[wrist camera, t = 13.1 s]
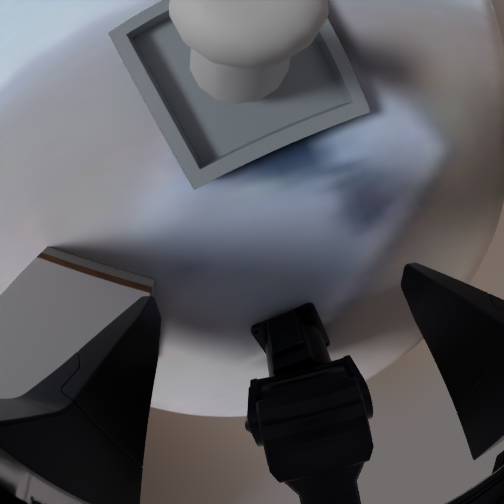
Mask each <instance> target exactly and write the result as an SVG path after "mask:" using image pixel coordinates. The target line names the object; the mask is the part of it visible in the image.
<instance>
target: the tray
mask: <svg viewBox="0 0 504 504" xmlns="http://www.w3.org/2000/svg"><path fill="white" fill-rule="evenodd" d="M169 2H170V0H162V1H160V2H159V3H157V4H155V5H153V6H151V7H149V8H148V9H146V10H144V11H142V12H141V13H139V14H137V15H135V16H134V17H132V18H130V19H129V20H127V21H126V22H124V23H123V24H121V25H119V26H118V27H116V28H115V29H113V30H112V31H110V32H109V33H108V34H109V36H110V37H111V39H112V41H113V43H114V45H115V47H116V49H117V51H118V53H119V55H120V57H121V58H122V60H123V62H124V64H125V66H126V68H127V70H128V72H129V73H130V75H131V77H132V79H133V81H134V83H135V85H136V87H137V88H138V90H139V92H140V94H141V96H142V98H143V99H144V101H145V103H146V105H147V107H148V109H149V110H150V112H151V114H152V116H153V118H154V120H155V121H156V123H157V125H158V127H159V129H160V130H161V132H162V134H163V136H164V138H165V139H166V141H167V143H168V145H169V147H170V148H171V150H172V152H173V154H174V156H175V157H176V159H177V161H178V163H179V164H180V166H181V168H182V170H183V172H184V173H185V175H186V177H187V179H188V180H189V182H190V184H191V186H192V187H193V189H194V190H195V189H197V188H199V187H200V186H202V185H204V184H206V183H208V182H210V181H212V180H214V179H216V178H218V177H220V176H222V175H224V174H226V173H228V172H230V171H232V170H234V169H236V168H238V167H240V166H242V165H244V164H246V163H249V162H251V161H253V160H255V159H257V158H259V157H261V156H264V155H266V154H268V153H270V152H272V151H275V150H277V149H279V148H281V147H284V146H286V145H288V144H290V143H293V142H295V141H297V140H300V139H302V138H305V137H307V136H309V135H312V134H314V133H317V132H319V131H322V130H324V129H327V128H329V127H332V126H334V125H337V124H339V123H342V122H345V121H347V120H350V119H353V118H355V117H358V116H361V115H364V114H367V113H369V112H370V109H369V106H368V104H367V101H366V99H365V96H364V94H363V91H362V89H361V86H360V84H359V82H358V79H357V77H356V75H355V72H354V70H353V68H352V66H351V63H350V61H349V59H348V57H347V55H346V53H345V51H344V49H343V47H342V45H341V43H340V41H339V39H338V37H337V35H336V33H335V31H334V29H333V27H332V26H331V24H330V22H329V20H328V18H327V19H326V22H325V23H324V25H323V26H322V28H321V29H320V31H319V32H318V34H317V35H316V37H315V38H314V40H313V41H312V43H311V45H310V46H308V47H307V48H305V49H303V50H302V51H300V52H298V53H296V54H295V55H293V56H291V57H290V64H289V71H288V72H287V74H286V76H285V77H284V79H283V81H282V82H281V84H280V86H279V87H278V88H277V89H276V90H274V91H273V92H271V93H270V94H268V95H267V96H265V97H264V98H262V99H261V100H257V101H251V102H246V103H240V104H236V103H231V102H227V101H222V100H217V99H215V98H214V97H212V96H211V95H210V94H208V93H207V92H206V91H204V90H203V89H202V88H200V87H199V86H198V84H197V82H196V80H195V78H194V76H193V74H192V72H191V70H190V54H191V47H189V46H188V45H187V44H186V43H185V42H184V41H183V40H182V38H181V36H180V34H179V33H178V31H177V29H176V27H175V25H174V24H173V22H172V20H171V18H170V16H169Z"/></svg>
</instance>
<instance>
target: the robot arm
mask: <svg viewBox="0 0 504 504" xmlns="http://www.w3.org/2000/svg"><path fill="white" fill-rule="evenodd" d="M401 288H402V291H403V293H404V296H405V298H406V300H407V303H408V305H409V307H410V310H411V312H412V315H413V317H414V319H415V322H416V324H417V326H418V328H419V329H420V331H421V333H422V335H423V337H424V339H425V341H426V343H427V345H428V347H429V349H430V351H431V354H432V355H433V357H434V359H435V362H436V364H437V366H438V368H439V371H440V373H441V375H442V377H443V379H444V382H445V384H446V386H447V389H448V391H449V394H450V396H451V398H452V401H453V403H454V406H455V409H456V411H457V414H458V417H459V419H460V422H461V425H462V427H463V430H464V433H465V436H466V439H467V442H468V445H469V448H470V451H471V455H472V457H473V459H474V460H475V459H477V458H479V457H480V456H482V455H483V454H485V453H486V452H488V451H489V450H491V449H492V448H493V447H495V446H496V445H498V444H499V443H500V442H502V441H503V440H504V300H502V299H500V298H498V297H496V296H493V295H491V294H488V293H487V292H484V291H482V290H480V289H478V288H475V287H473V286H471V285H468V284H466V283H464V282H461V281H459V280H457V279H454V278H452V277H450V276H447V275H445V274H442V273H440V272H437V271H435V270H433V269H430V268H428V267H425V266H423V265H420V264H418V263H409V264H406V265H405V267H404V271H403V276H402V280H401ZM308 308H311V309H308ZM160 327H161V315H160V312H159V309H158V306H157V304H156V301H155V298H154V297H153V296H142V297H141V298H139V299H138V300H137V301H136V302H135V303H133V304H132V305H131V306H130V307H129V308H127V309H126V310H125V311H124V312H123V313H121V314H120V315H119V316H118V317H117V318H115V319H114V320H113V321H112V322H111V323H110V324H108V325H107V326H106V327H105V328H104V329H103V330H101V331H100V332H99V333H98V334H97V335H96V336H94V337H93V338H92V339H91V340H90V341H89V342H88V343H86V344H85V345H84V346H83V347H82V348H81V349H80V350H79V351H78V352H76V353H75V354H74V355H73V356H72V357H70V358H69V359H68V360H67V361H66V362H65V363H63V364H62V365H61V366H60V367H59V368H57V369H56V370H55V371H53V372H52V373H51V374H50V375H48V376H47V377H46V378H44V379H43V380H42V381H40V382H39V383H38V384H37V385H35V386H34V387H33V388H31V389H30V390H29V391H28V392H26V393H25V394H23V395H21V396H19V397H16V398H10V399H0V504H140V494H141V481H142V470H143V468H142V466H143V459H144V450H145V441H146V433H147V424H148V418H149V411H150V404H151V398H152V391H153V385H154V379H155V373H156V368H157V362H158V354H159V340H160ZM255 330H257V331H255ZM251 333H252V335H253V336H254V338H255V339H256V340H257V342H258V343H259V345H260V346H261V348H262V349H263V350H264V352H265V353H266V356H267V363H268V370H269V377H267V378H262V379H252V380H251V382H250V387H249V395H248V412H247V418H246V421H245V428H246V430H247V431H249V432H250V433H252V435H253V437H254V439H255V442H256V444H257V445H258V446H264V450H265V455H266V459H267V463H268V466H269V470H270V473H271V474H272V475H273V476H274V477H275V478H276V480H277V481H279V482H280V483H281V482H285V483H286V484H287V485H288V486H289V487H290V488H291V489H292V490H294V491H295V492H296V493H297V494H298V495H299V498H300V502H301V504H361V501H360V496H359V491H358V486H357V479H358V476H359V474H360V472H361V469H362V467H363V465H364V462H366V461H369V460H370V457H371V454H372V450H373V442H372V437H371V431H370V426H369V422H368V419H370V418H372V417H373V406H372V401H371V396H370V392H369V389H368V386H367V384H366V382H365V380H364V378H363V376H362V375H361V373H360V371H359V370H358V368H357V366H356V365H355V363H354V361H353V360H352V358H351V356H350V355H347V356H344V358H341V359H338V360H334V361H331V359H330V356H329V353H328V350H327V348H326V347H328V346H329V345H330V341H329V338H328V336H327V334H326V331H325V329H324V327H323V324H322V322H321V320H320V318H319V315H318V313H317V311H316V309H315V306H314V304H312V303H308V304H305V305H303V306H301V307H298V308H296V309H293V310H291V311H289V312H286V313H284V314H282V315H279V316H277V317H274V318H272V319H269V320H267V321H264V322H262V323H259V324H257V325H254V326H252V328H251ZM446 504H504V451H502V452H501V453H500V454H499V455H498V456H497V458H496V462H495V465H494V468H493V472H492V474H491V475H490V476H488V477H487V478H486V479H484V480H483V481H481V482H480V483H478V484H477V485H475V486H474V487H472V488H471V489H469V490H467V491H466V492H464V493H463V494H461V495H459V496H458V497H456V498H454V499H452V500H451V501H449V502H447V503H446Z"/></svg>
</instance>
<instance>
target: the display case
mask: <svg viewBox="0 0 504 504" xmlns="http://www.w3.org/2000/svg"><path fill="white" fill-rule="evenodd" d="M154 285H155V279H151V278H148V277H144V276H141V275H137V274H134V273H130V272H127V271H123V270H120V269H117V268H113V267H110V266H107V265H103V264H100V263H97V262H94V261H90V260H87V259H84V258H81V257H78V256H75V255H71V254H68V253H65V252H62V251H59V250H56V249H53V248H50V247H47V248H46V249H45V250H44V251H43V252H42V253H40V254H39V255H38V256H37V257H36V258H35V259H34V260H33V261H32V262H31V263H30V264H29V265H28V266H27V267H26V269H25V270H24V271H23V272H22V273H21V274H20V275H19V276H18V277H17V278H16V279H15V280H14V281H13V282H12V283H11V284H10V286H9V287H8V288H7V289H6V290H5V291H4V292H3V293H2V295H1V296H0V399H10V398H16V397H19V396H21V395H23V394H25V393H26V392H28V391H29V390H30V389H31V388H33V387H34V386H35V385H37V384H38V383H39V382H40V381H42V380H43V379H44V378H46V377H47V376H48V375H50V374H51V373H52V372H53V371H55V370H56V369H57V368H59V367H60V366H61V365H62V364H63V363H65V362H66V361H67V360H68V359H69V358H70V357H72V356H73V355H74V354H75V353H76V352H78V351H79V350H80V349H81V348H82V347H83V346H84V345H85V344H86V343H88V342H89V341H90V340H91V339H92V338H93V337H94V336H96V335H97V334H98V333H99V332H100V331H101V330H103V329H104V328H105V327H106V326H107V325H108V324H110V323H111V322H112V321H113V320H114V319H115V318H117V317H118V316H119V315H120V314H121V313H123V312H124V311H125V310H126V309H127V308H129V307H130V306H131V305H132V304H133V303H135V302H136V301H137V300H138V299H139V298H141V297H142V296H153V291H154Z"/></svg>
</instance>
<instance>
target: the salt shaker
mask: <svg viewBox="0 0 504 504" xmlns="http://www.w3.org/2000/svg"><path fill="white" fill-rule="evenodd" d="M328 15H329V9H328V0H170V2H169V16H170V18H171V20H172V22H173V24H174V25H175V27H176V29H177V31H178V33H179V34H180V36H181V38H182V40H183V41H184V42H185V43H186V44H187V45H188V46H189V47H191V54H190V70H191V72H192V74H193V76H194V78H195V80H196V82H197V84H198V86H199V87H200V88H202V89H203V90H204V91H206V92H207V93H208V94H210V95H211V96H212V97H214V98H215V99H217V100H222V101H227V102H231V103H236V104H240V103H246V102H251V101H257V100H261V99H262V98H264V97H265V96H267V95H268V94H270V93H271V92H273V91H274V90H276V89H277V88H278V87H279V86H280V84H281V82H282V81H283V79H284V77H285V76H286V74H287V72H288V71H289V64H290V57H291V56H293V55H295V54H296V53H298V52H300V51H302V50H303V49H305V48H307V47H308V46H310V45H311V43H312V41H313V40H314V38H315V37H316V35H317V34H318V32H319V31H320V29H321V28H322V26H323V25H324V23H325V22H326V19H327V17H328Z"/></svg>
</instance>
